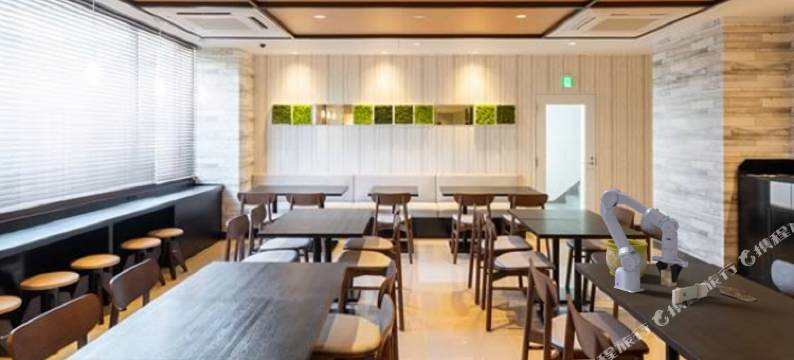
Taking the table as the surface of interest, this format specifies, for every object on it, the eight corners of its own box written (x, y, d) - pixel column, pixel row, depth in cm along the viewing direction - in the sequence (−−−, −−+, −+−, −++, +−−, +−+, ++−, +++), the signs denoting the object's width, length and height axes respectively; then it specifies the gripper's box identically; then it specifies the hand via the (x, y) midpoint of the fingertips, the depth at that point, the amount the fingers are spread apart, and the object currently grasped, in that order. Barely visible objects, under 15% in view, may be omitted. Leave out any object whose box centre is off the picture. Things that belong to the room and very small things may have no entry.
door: (679, 300, 200) (679, 288, 200) (694, 296, 205) (694, 285, 204) (683, 301, 199) (683, 289, 198) (698, 297, 203) (698, 286, 203)
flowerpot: (605, 279, 235) (606, 244, 234) (605, 270, 251) (606, 237, 250) (648, 282, 228) (649, 246, 227) (645, 273, 245) (646, 239, 244)
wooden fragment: (763, 303, 197) (763, 300, 197) (731, 302, 199) (731, 299, 199) (732, 286, 223) (732, 283, 223) (704, 285, 225) (704, 282, 225)
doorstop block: (661, 284, 209) (661, 270, 208) (667, 282, 211) (667, 268, 210) (670, 286, 205) (670, 272, 205) (676, 285, 207) (676, 270, 207)
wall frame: (671, 303, 198) (671, 288, 198) (702, 295, 208) (703, 281, 208) (675, 304, 197) (676, 290, 196) (707, 296, 207) (708, 282, 206)
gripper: (647, 246, 212) (646, 278, 212) (680, 252, 199) (679, 286, 200) (657, 244, 215) (657, 276, 216) (691, 250, 202) (690, 284, 203)
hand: (668, 281), depth 208 cm, fingers closed on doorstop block, 4 cm apart
